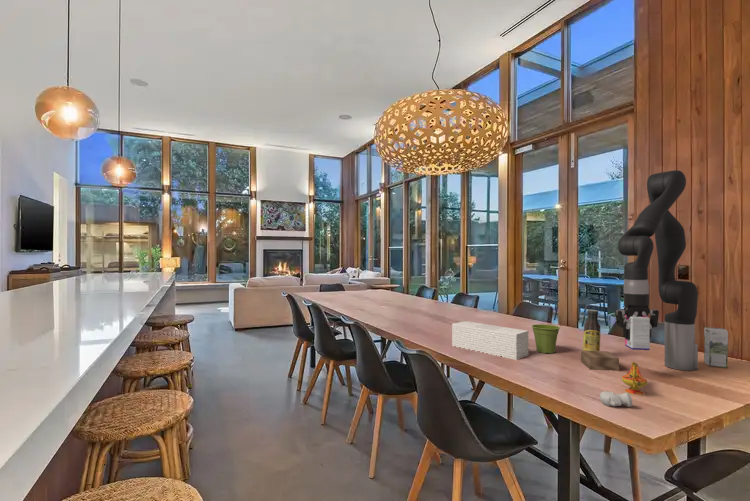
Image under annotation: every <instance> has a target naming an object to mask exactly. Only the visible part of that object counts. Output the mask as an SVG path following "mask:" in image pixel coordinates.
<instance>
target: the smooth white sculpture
mask: <svg viewBox="0 0 750 501" xmlns="http://www.w3.org/2000/svg"><path fill="white" fill-rule="evenodd" d="M599 400H600V402H601V403H602V404H603V405H605V406H607V407H617V406H619V407H621V406H622V405H624V406H625V407H627V408H631V407H632V406H633V399H632V394H630V393H627V392H624V393H620V394H619V393H614V392H613V391H607V390H604V391H601V392H600V394H599Z"/></svg>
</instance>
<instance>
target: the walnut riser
mask: <svg viewBox="0 0 750 501" xmlns="http://www.w3.org/2000/svg"><path fill="white" fill-rule="evenodd" d="M580 363H581V364H583V365H584V366H585V367H586V368H588V370H595V371H610V370H612V372H613V371H614V372H619V371H620V357H617V356H616V355H614V354H613V353H611V352H609V351H602V350H600V351H584V350H583V349H581V350H580Z"/></svg>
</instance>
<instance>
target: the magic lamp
mask: <svg viewBox="0 0 750 501" xmlns="http://www.w3.org/2000/svg"><path fill="white" fill-rule="evenodd" d="M621 380H622V382H623V384H625V385H626V386H628V387H629V388H625V389H624V391H625V393H628V394H630V395H636V396H642V395H645V392H643V391H642V390H640V388H644V387H646V386H647V385H648V379H646V378H645V377H644V376H643V375H642V374H641V372H640V368H639V364H638V363H636V362H635V361H633V362H631V367H630V370H629V372H628V373H627V374H624V375H622V376H621Z"/></svg>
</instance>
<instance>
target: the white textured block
mask: <svg viewBox="0 0 750 501" xmlns="http://www.w3.org/2000/svg"><path fill="white" fill-rule="evenodd" d="M451 334H452V335H451V342H452V343H451V346H452V347H454V346H456V348H459V347H461V348H460V349H463V348H465V349H464V350H468V349H470V350H469V351H472V350H475V351H474V352H477V351H480V352H479V353H482V352H484V353H483V354H486V353H488V354H487V355H491V354H492V355H491V356H496V355H497V356H496V357H500V356H502V357H501V358H505V357H506V359H509V358H510V359H511V360H515V361H518V360H520V359H522V358H526V357H528V356H529V330H526V329H525V330H524V329H520V328H513V327H507V326H500V325H493V324H487V323H481V322H480V323H479V322H473V321H469V320H468V321H467V320H464V321H463V320H462V321H458V322H453V323H451Z"/></svg>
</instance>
